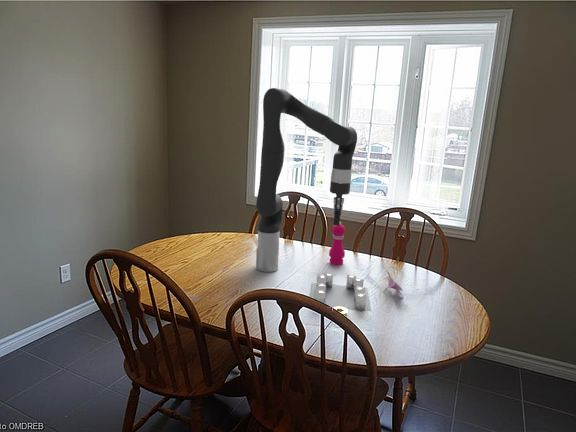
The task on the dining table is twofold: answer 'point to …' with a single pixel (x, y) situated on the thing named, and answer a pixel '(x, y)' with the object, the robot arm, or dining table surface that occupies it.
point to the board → (340, 297)
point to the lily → (393, 284)
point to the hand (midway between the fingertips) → (336, 224)
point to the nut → (341, 310)
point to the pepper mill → (337, 245)
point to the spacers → (351, 284)
